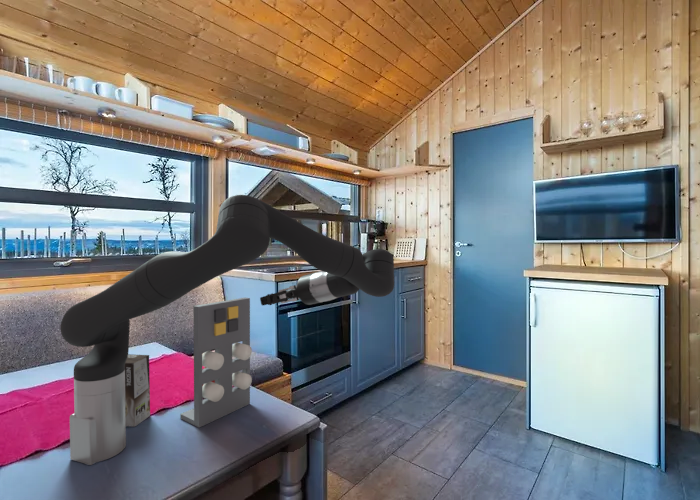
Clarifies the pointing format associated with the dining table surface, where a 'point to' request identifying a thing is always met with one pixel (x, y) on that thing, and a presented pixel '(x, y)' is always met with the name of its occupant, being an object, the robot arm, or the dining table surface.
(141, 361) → the coffee box
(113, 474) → the dining table surface
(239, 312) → the button panel
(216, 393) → the button bottom left
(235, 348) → the button top right
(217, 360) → the button top left
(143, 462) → the dining table surface
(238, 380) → the button bottom right
